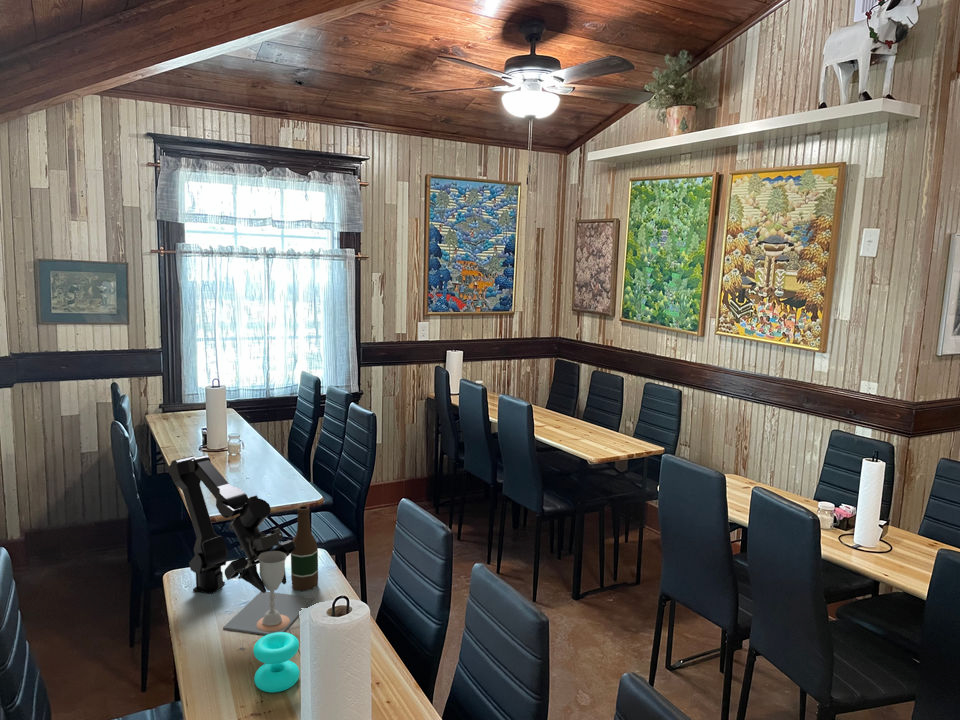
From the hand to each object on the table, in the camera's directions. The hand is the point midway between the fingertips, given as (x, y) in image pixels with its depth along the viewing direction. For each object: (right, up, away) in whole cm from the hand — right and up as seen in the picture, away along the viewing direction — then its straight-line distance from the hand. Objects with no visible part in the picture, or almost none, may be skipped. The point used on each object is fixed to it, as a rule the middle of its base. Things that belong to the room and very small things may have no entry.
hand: (275, 588), depth 183 cm
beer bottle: (+2, -7, +24) cm, 25 cm away
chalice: (-2, -10, +3) cm, 10 cm away
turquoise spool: (+7, -15, -21) cm, 27 cm away
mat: (-4, -10, +8) cm, 13 cm away
